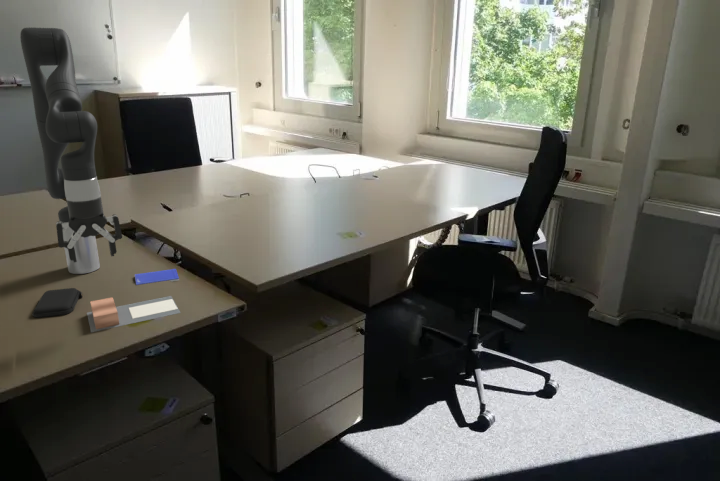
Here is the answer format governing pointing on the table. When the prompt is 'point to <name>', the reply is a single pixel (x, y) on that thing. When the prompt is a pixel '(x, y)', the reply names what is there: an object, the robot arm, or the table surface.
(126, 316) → the mat
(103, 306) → the block
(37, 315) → the carrying case or bag
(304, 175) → the table surface
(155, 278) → the hard drive
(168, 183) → the table surface
